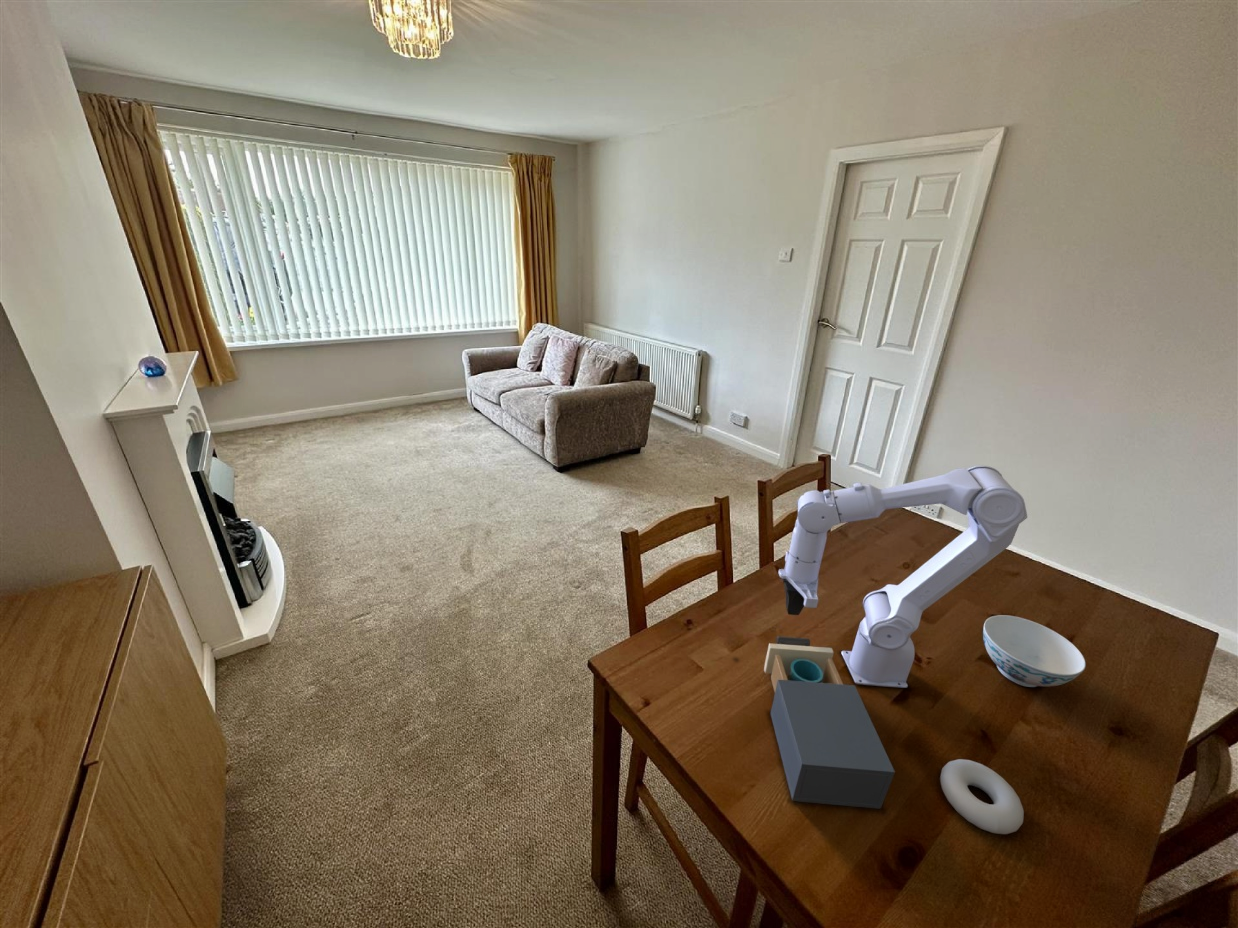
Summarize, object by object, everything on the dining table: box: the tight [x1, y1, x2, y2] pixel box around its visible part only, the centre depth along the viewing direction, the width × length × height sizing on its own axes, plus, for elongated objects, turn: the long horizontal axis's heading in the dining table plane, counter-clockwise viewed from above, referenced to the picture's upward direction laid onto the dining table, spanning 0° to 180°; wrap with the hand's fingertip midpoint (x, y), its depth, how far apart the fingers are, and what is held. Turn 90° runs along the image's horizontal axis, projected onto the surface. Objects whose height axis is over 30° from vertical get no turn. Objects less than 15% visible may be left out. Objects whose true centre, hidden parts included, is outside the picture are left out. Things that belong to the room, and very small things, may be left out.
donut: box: [939, 758, 1025, 835], centre depth 70 cm, size 10×4×10 cm
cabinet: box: [770, 680, 896, 810], centre depth 75 cm, size 15×13×8 cm
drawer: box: [763, 635, 844, 693], centre depth 85 cm, size 18×11×6 cm, turn 176°
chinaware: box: [982, 614, 1087, 688], centre depth 92 cm, size 15×15×8 cm
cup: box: [787, 659, 823, 683], centre depth 85 cm, size 5×5×4 cm
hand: (792, 612), depth 94 cm, fingers closed
